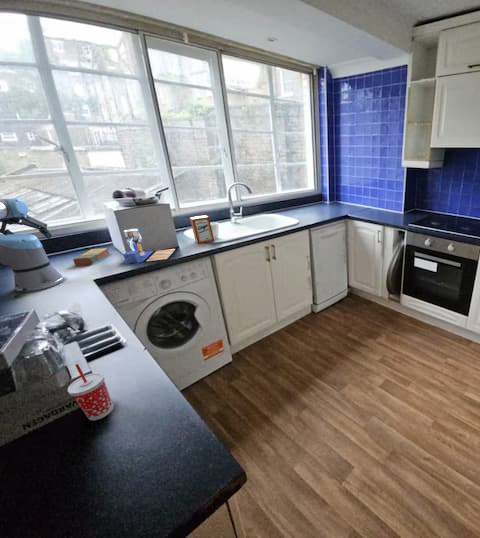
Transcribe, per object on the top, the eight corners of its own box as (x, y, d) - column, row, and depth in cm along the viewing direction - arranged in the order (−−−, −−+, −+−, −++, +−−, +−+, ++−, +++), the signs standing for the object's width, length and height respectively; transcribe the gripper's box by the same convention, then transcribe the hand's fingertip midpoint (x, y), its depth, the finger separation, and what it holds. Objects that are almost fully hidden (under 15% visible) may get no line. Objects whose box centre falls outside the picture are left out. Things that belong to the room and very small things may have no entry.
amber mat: (167, 259, 160) (166, 258, 160) (146, 262, 157) (145, 261, 157) (176, 249, 176) (175, 248, 175) (157, 251, 173) (156, 250, 173)
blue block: (137, 262, 156) (134, 253, 154) (126, 263, 155) (123, 254, 153) (140, 258, 160) (137, 250, 158) (130, 260, 159) (127, 251, 157)
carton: (110, 254, 170) (107, 247, 168) (93, 264, 156) (90, 257, 154) (93, 255, 169) (91, 248, 167) (75, 266, 154) (71, 258, 152)
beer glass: (130, 258, 161) (121, 232, 155) (134, 254, 167) (125, 229, 161) (145, 256, 163) (136, 230, 158) (148, 252, 169) (140, 227, 163)
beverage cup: (81, 414, 68) (54, 366, 62) (113, 397, 72) (91, 351, 67) (87, 428, 64) (59, 379, 59) (121, 409, 69) (98, 362, 63)
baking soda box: (211, 238, 195) (205, 214, 189) (214, 240, 191) (208, 216, 184) (195, 241, 190) (189, 217, 183) (198, 243, 185) (192, 218, 179)
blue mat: (143, 262, 157) (142, 261, 157) (121, 265, 154) (120, 264, 154) (154, 251, 173) (154, 250, 173) (134, 253, 170) (134, 252, 170)
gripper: (33, 201, 137) (65, 229, 155) (-36, 205, 131) (5, 235, 149) (28, 213, 133) (61, 241, 151) (-43, 218, 127) (0, 246, 145)
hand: (34, 238), depth 150 cm, fingers open, 13 cm apart
